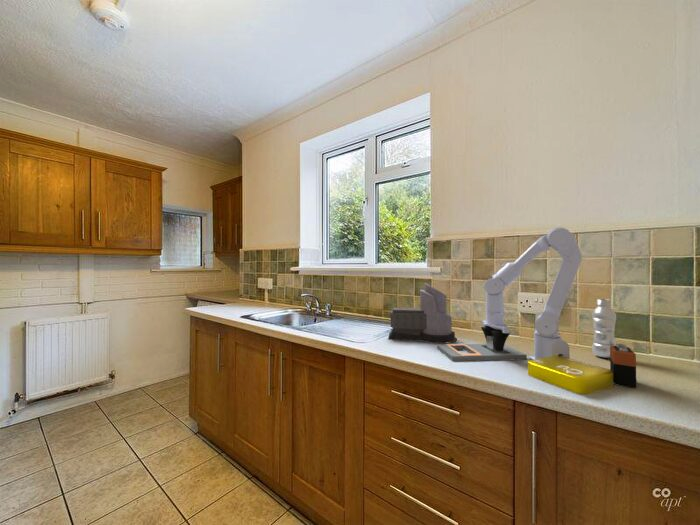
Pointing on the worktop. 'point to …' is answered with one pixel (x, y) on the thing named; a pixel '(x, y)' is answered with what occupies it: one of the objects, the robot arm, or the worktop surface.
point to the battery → (623, 365)
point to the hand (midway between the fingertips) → (495, 348)
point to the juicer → (423, 319)
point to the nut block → (492, 345)
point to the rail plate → (478, 352)
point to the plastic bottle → (603, 328)
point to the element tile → (571, 374)
